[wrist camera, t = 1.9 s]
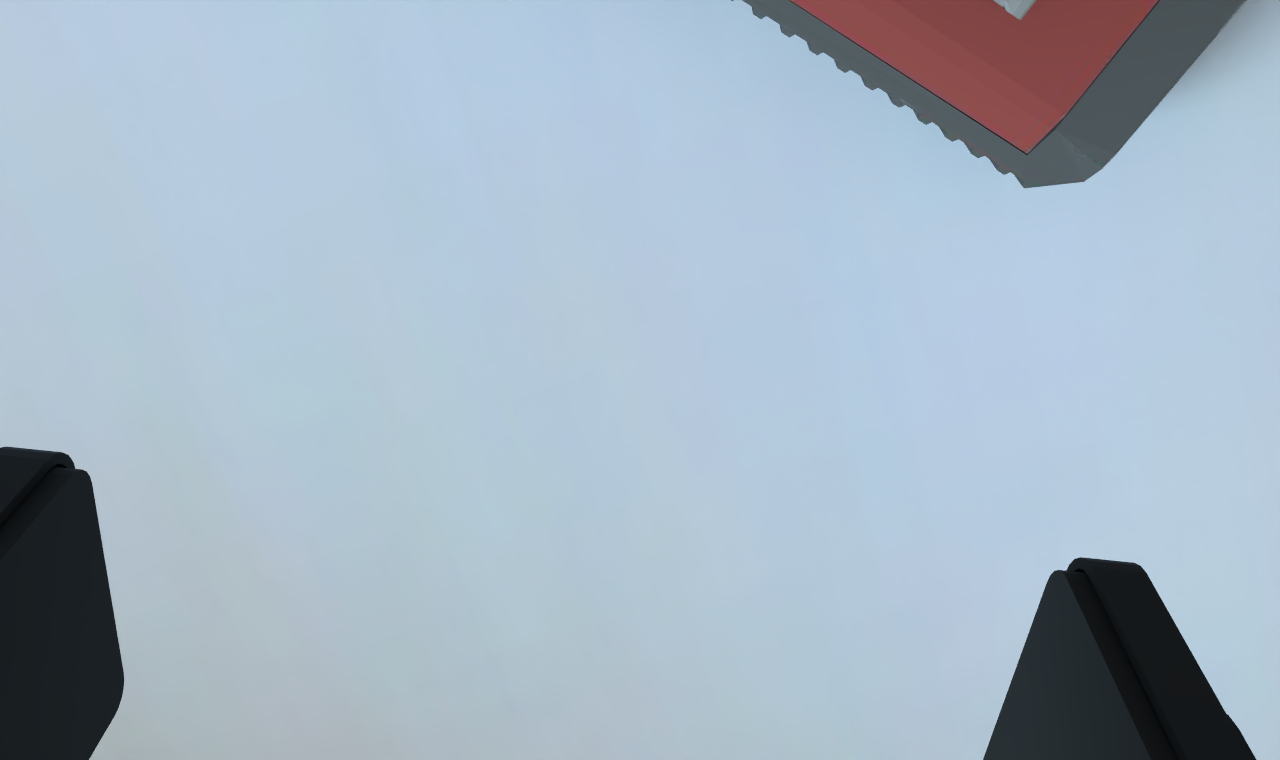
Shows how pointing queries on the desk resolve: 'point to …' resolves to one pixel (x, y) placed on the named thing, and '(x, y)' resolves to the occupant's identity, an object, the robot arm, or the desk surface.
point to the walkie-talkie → (1016, 68)
